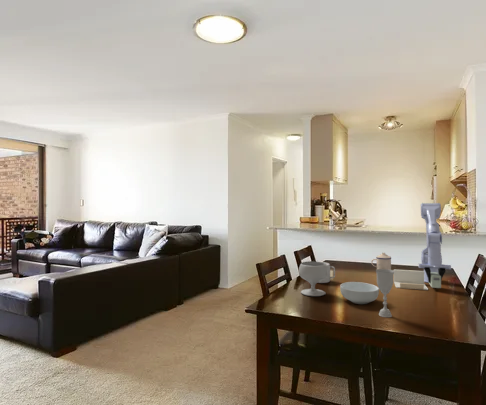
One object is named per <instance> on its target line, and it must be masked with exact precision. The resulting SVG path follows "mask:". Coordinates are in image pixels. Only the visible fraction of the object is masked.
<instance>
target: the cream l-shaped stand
mask: <svg viewBox="0 0 486 405" xmlns="http://www.w3.org/2000/svg"><path fill="white" fill-rule="evenodd" d="M393 271H395V272H394V274H393V285H394V286H395V288H396V289H405V290H406V289H407V290H422V291H429V288H428V287H427V286H426V284H425V282H424V270H409V269H393Z"/></svg>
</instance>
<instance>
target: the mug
mask: <svg viewBox="0 0 486 405" xmlns="http://www.w3.org/2000/svg"><path fill="white" fill-rule="evenodd" d="M321 262H322V261H321ZM322 263H324V264H325V266H326V268H327V276H326V277H325V278H324V279H323V280H321V281H319V282H317V283H318V284H327V283H329V282H331V279H334V278H335V277H336V268H335V266H333V265H331V264H330V263H329V262H325V261H323V262H322ZM331 268H332V269H333V276H331ZM317 283H316V284H317Z"/></svg>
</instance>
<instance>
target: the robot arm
mask: <svg viewBox="0 0 486 405" xmlns="http://www.w3.org/2000/svg"><path fill="white" fill-rule="evenodd" d="M441 212H442V205H441V203H440V202H433V203H431V202H426V203H425V202H422V203H420V216H421V218H422V219H423V220H424V221H425V231H426V236H425V237H426V247H425V248H424V249H422V251H421V258H420V260H421V261H420V262H421V263H418V268H419V269H423V271H424V283H428V284H429V283H431V278H430V274H431V272H437V273H438V274H439V275H440V276H441V281H442V280H443V277H444V275H445V273H446V272H447V270H452V264H442V263H443V257H442V249H441V248H442V247H441V246H442V244H443V236H442V232H441V229H440V224H439V223H438V221H437V220H438V219H440V217H441Z"/></svg>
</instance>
